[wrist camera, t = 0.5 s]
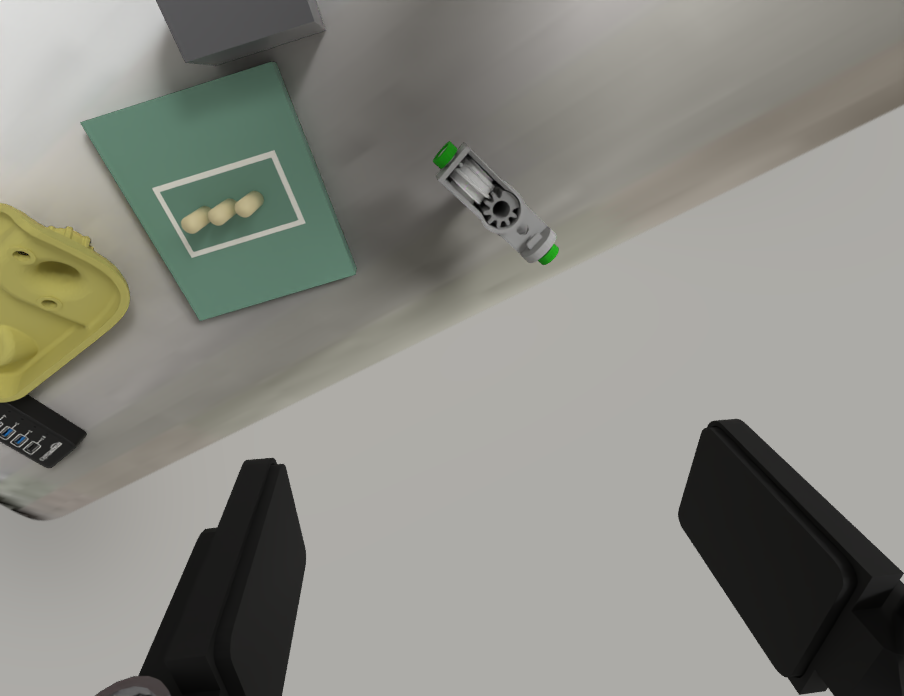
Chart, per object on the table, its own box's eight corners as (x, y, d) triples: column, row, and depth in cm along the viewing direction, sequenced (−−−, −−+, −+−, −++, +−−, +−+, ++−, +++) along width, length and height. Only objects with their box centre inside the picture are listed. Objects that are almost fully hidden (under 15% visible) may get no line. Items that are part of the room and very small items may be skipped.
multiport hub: (-25, 358, 42) (-46, 371, 40) (90, 431, 47) (77, 446, 45) (-53, 385, 43) (-75, 400, 41) (63, 454, 48) (48, 470, 46)
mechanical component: (508, 236, 42) (538, 276, 33) (419, 152, 38) (426, 173, 29) (532, 210, 41) (570, 244, 32) (444, 121, 37) (459, 133, 28)
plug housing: (183, -6, 32) (145, -22, 27) (300, -44, 31) (283, -68, 26) (215, 65, 34) (185, 62, 29) (326, 30, 33) (314, 21, 29)
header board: (92, 120, 34) (48, 126, 30) (276, 62, 34) (258, 59, 30) (206, 313, 42) (184, 340, 38) (356, 268, 42) (352, 290, 37)
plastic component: (8, 408, 42) (-159, 367, 34) (27, 344, 46) (-118, 294, 39) (159, 291, 37) (3, 211, 29) (164, 231, 41) (30, 147, 34)
